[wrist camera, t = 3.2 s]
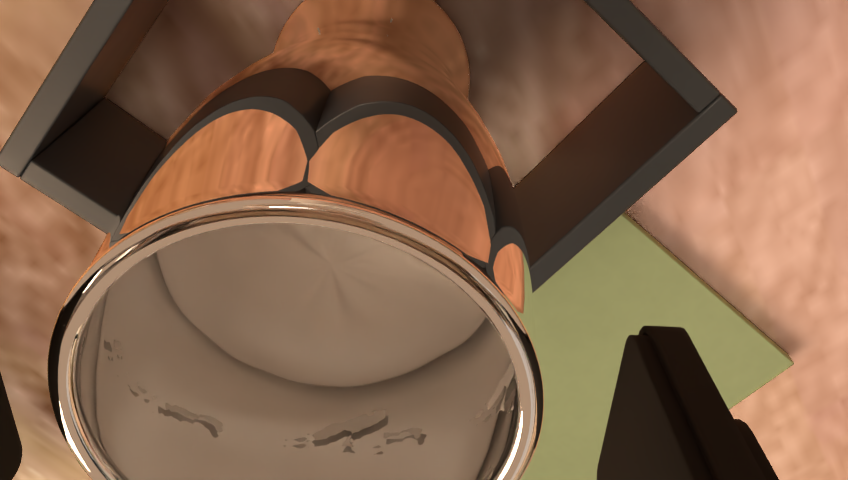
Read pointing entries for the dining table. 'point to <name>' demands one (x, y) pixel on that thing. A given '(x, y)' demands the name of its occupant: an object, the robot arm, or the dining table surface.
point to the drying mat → (608, 331)
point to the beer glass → (313, 277)
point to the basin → (536, 194)
